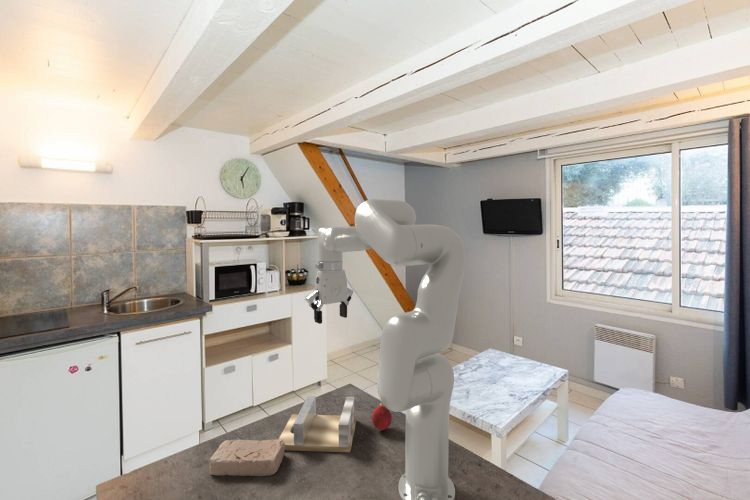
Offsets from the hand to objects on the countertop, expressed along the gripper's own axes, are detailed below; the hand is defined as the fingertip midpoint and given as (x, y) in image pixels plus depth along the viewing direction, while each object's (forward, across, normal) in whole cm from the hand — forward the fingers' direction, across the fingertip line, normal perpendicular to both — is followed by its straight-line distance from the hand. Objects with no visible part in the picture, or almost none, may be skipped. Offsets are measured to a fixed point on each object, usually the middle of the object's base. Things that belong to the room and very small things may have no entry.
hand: (331, 319), depth 112 cm
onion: (+30, +4, -19) cm, 36 cm away
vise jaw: (+28, -14, -5) cm, 32 cm away
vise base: (+30, -11, -8) cm, 33 cm away
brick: (+30, -31, -7) cm, 44 cm away
